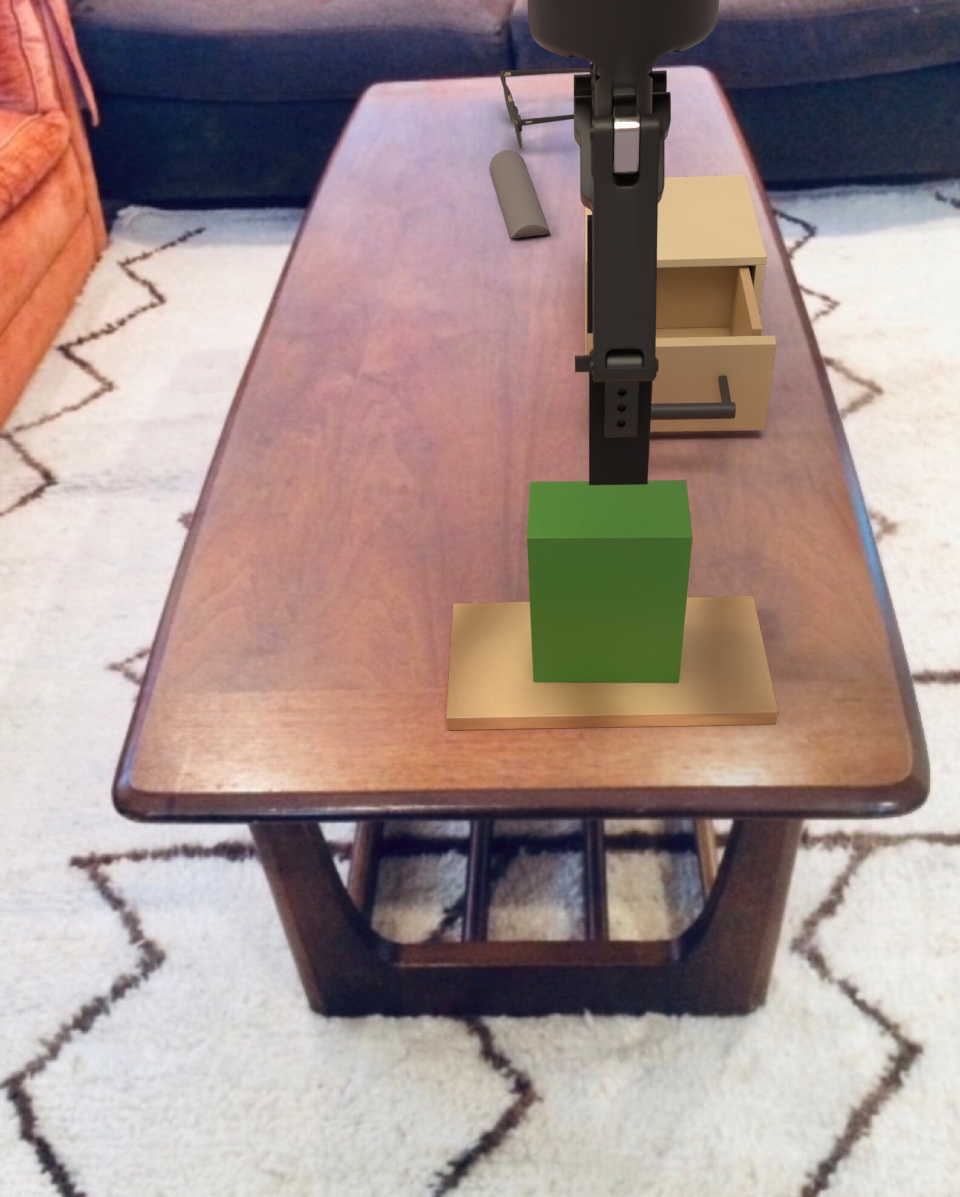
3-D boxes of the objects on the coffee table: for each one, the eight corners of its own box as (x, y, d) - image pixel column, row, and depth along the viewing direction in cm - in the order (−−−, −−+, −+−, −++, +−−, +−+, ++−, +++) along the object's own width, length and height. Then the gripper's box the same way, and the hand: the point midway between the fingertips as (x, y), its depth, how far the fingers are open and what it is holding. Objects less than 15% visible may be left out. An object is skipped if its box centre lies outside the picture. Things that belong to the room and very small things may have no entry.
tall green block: (678, 683, 68) (692, 537, 59) (533, 682, 69) (526, 538, 60) (673, 625, 71) (686, 479, 63) (535, 625, 72) (529, 481, 64)
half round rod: (511, 243, 113) (510, 227, 112) (488, 167, 127) (487, 151, 126) (552, 239, 113) (551, 222, 112) (524, 163, 127) (524, 147, 126)
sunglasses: (659, 147, 128) (661, 103, 125) (516, 162, 128) (514, 118, 124) (631, 96, 140) (632, 54, 136) (499, 110, 139) (497, 69, 136)
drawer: (772, 468, 83) (785, 379, 77) (594, 470, 84) (595, 383, 78) (744, 333, 96) (754, 250, 91) (591, 336, 98) (592, 255, 92)
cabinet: (754, 359, 95) (767, 256, 88) (585, 362, 96) (585, 261, 90) (735, 271, 106) (746, 174, 99) (584, 275, 107) (584, 179, 101)
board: (751, 608, 74) (753, 595, 73) (775, 724, 66) (778, 711, 66) (454, 615, 75) (453, 603, 74) (447, 730, 68) (445, 718, 67)
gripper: (534, -140, 51) (546, 281, 65) (510, 35, 33) (534, 561, 48) (698, -151, 50) (673, 277, 65) (765, 22, 32) (710, 560, 47)
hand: (614, 398), depth 56 cm, fingers open, 13 cm apart
